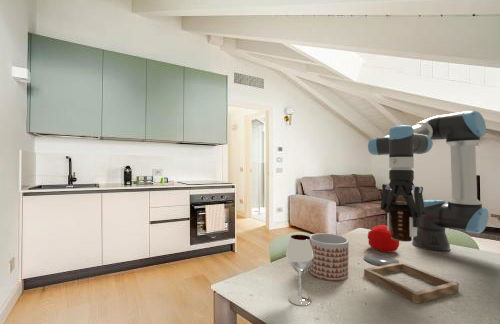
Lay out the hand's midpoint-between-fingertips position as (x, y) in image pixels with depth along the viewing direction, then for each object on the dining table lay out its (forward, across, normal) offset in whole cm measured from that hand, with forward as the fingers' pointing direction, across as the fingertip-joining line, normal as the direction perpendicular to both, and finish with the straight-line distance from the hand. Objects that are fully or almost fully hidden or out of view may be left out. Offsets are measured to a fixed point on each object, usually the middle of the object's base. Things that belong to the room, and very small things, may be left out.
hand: (401, 233), depth 87 cm
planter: (+15, -12, -23) cm, 30 cm away
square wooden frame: (+15, +4, -3) cm, 16 cm away
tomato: (+16, -23, +20) cm, 34 cm away
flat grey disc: (+16, -14, +6) cm, 22 cm away
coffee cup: (+2, 0, 0) cm, 2 cm away
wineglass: (+15, 0, -43) cm, 46 cm away
